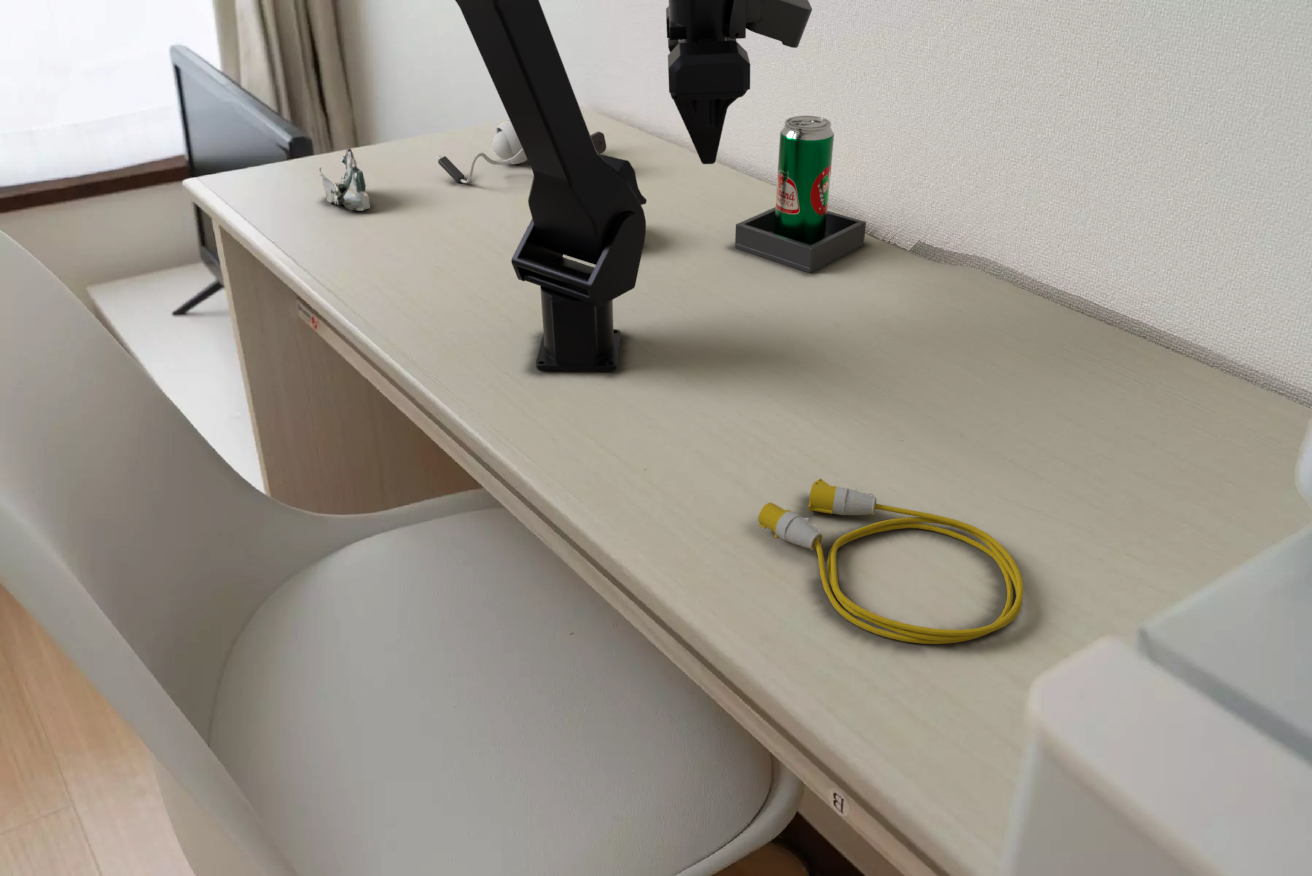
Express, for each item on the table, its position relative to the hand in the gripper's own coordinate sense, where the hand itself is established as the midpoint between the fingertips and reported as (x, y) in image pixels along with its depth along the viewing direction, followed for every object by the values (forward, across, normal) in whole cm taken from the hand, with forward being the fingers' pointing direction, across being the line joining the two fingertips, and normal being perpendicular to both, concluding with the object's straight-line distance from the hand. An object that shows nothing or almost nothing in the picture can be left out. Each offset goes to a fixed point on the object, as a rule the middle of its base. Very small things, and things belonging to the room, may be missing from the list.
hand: (706, 143), depth 92 cm
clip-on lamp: (+14, +31, +21) cm, 40 cm away
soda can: (+14, +8, -9) cm, 18 cm away
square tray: (+14, +8, -10) cm, 19 cm away
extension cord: (+12, -42, -10) cm, 44 cm away
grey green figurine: (+13, +20, +39) cm, 46 cm away
